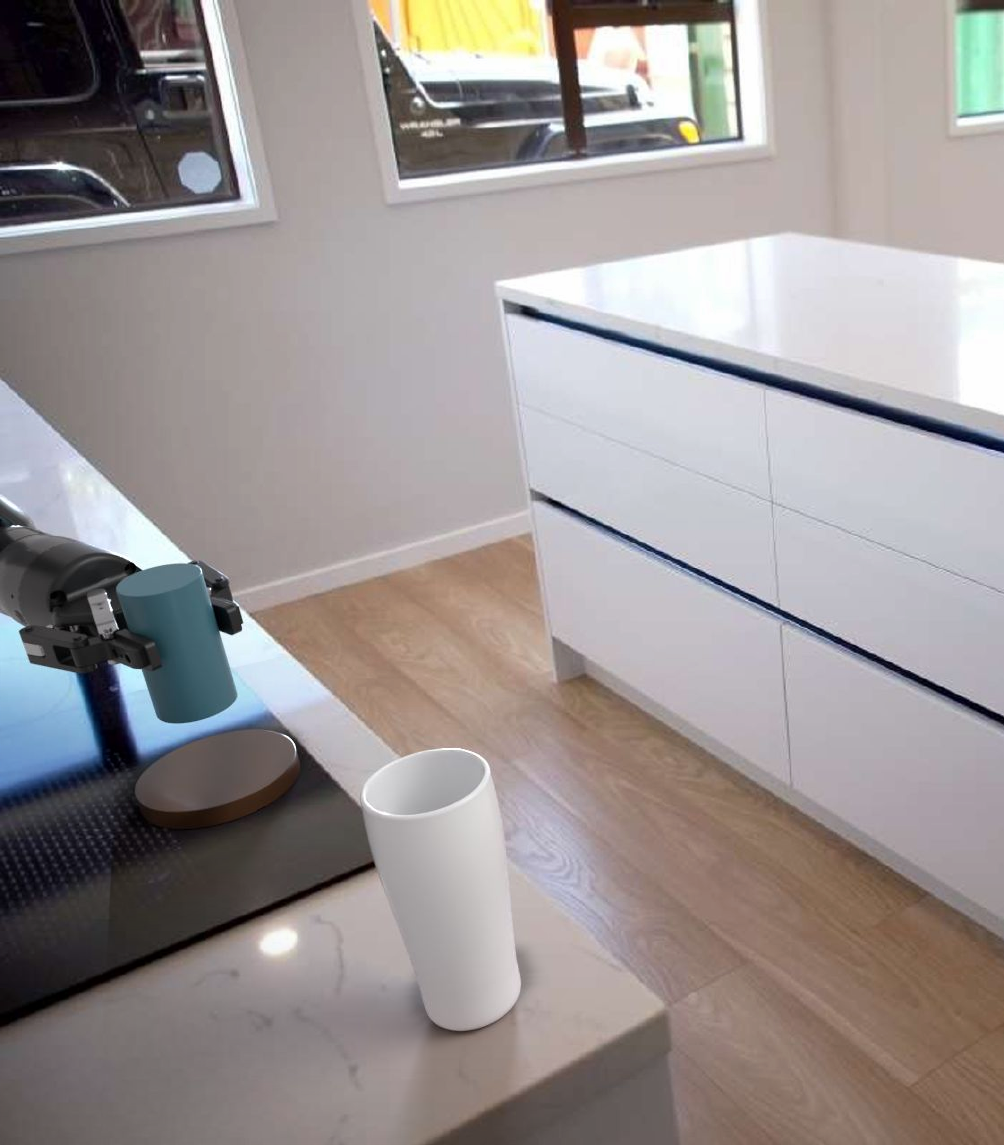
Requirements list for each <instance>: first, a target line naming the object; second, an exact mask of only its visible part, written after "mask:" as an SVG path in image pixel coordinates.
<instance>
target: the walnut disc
mask: <svg viewBox="0 0 1004 1145" xmlns="http://www.w3.org/2000/svg"><path fill="white" fill-rule="evenodd" d="M298 754H299V753H298V750H297V748H296V744H295V743H294V741H293V740H292V739H291V738H290V737H289V736H287V735H285V734H283V733H280V732H277V731H273V730H267V729H266V730H265V729H243V730H242V729H241V730H233V731H228V732H222V733H219V734H213V735H211V736H207V737H204V738H203V737H202V738H200V739H197V740H195V741H192V742H190V743H187V744H184V745H182V746H180V747H178V748H176V749H173V750H172V751H170V752H168V753H167V754H165V755H164V756H162V757H160V758H159V759H158V760H156V761H155V762H153V763H152V764H151V765H150V766H149V767H147V768H146V769H145V771H143V773H141V775H140V776H139V778H138V779H137V782H136V784H135V787H134V796H135V799H136V801H137V805H138V807H139V811H140V813H141V815H142V817H143V818H144V819H145V820H146V821H147V822H148V823H150V824H153V825H154V826H157V827H160V828H164V829H171V830H194V829H201V828H209V827H213V826H218V825H222V824H225V823H229V822H233V821H235V820H238V819H241V818H243V817H246V816H249V815H251V814H254V813H256V812H257V810H258V809H259V810H261V809H263V808H264V807H263V806H265V807H268V806H269V805H270V804H272V803H273V802H275V801H277V800H278V799H279V798H281V797H282V796H283V795H284V794H286V792H288V791H289V790H290V789H291V787H292V786H293V785H294V784H295V783H296V781H297V780H298V778H299V776H300V773H301V761H300V758H299V755H298ZM262 807H263V808H262ZM260 808H261V809H260ZM259 810H258V811H259Z"/></svg>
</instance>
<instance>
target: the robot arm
mask: <svg viewBox="0 0 1004 1145" xmlns="http://www.w3.org/2000/svg"><path fill="white" fill-rule="evenodd" d="M186 564H193V565H196V566H198V567H200V568H201V570H202V573H203V577H204V580H205V583H206V587H207V590H208V594H209V597H210V601H211V604H212V608H213V611H214V614H215V618H216V621H217V625H218V628H219V632H220V633H221V632H222V633H224V634H227V635H229V636H235V635H236V634H238V633H240V632H243V626H242V625H243V624H244V620H243V617H242V613H241V609H240V605H239V604H238V603H237V602H236V601H235V600H234V598H233V593H232V591H231V590H232V589H231V586H230V580H229V577H228V576H227V575H225V574H224V573H222V572H220V571H219V570H218V569H216V568H214V567H213V566H211V565H210V564H208V563H207V562H206V561H204V560H201V559H195V560H191V561H189V562H187V563H186ZM142 570H143V569H142V567H141V566H139V565H137V563H135V562H134V561H133V560H132V559H130V558H129V557H126V556H125V555H123V554H121V553H117V552H114V551H111V550H108V549H106V548H103V547H100V546H97V545H94V544H90V543H87V542H85V541H81V540H78V539H76V538H72V537H68V536H63V535H54V534H51V533H48V532H45V531H43V530H40V529H38V528H37V525H36V524H35V521H33V519H32V518H31V516H30V515H29V514H28V513H27V512H25V510H23V509H22V508H21V507H20V506H19V505H18V504H16V503H14V502H13V501H12V500H11V499H9V498H8V497H6V496H5V495H3V494H2V493H0V614H2V615H5V616H7V617H9V618H11V619H13V620H14V621H15V622H16V623H18V624H20V625H22V626H23V627H22V628H20V629H19V630H18V633H19V637H20V639H21V642H22V644H23V647H24V651H25V652H26V656H27V658H28V662H29V663H30V664H32V665H37V666H41V667H46V668H50V669H56V670H61V671H66V672H69V673H70V672H71V673H75V674H79V675H80V674H81V675H84V674H89V673H93V672H94V671H96V670H97V669H98V665H97V664H100V663H104V662H107V663H108V664H109V665H111V666H115V665H120V664H121V665H124V666H126V667H127V668H131V669H133V670H142V668H143V669H145V670H147V671H150V672H152V671H154V670H157V669H159V668H161V667H162V662H161V659H160V656H159V653H158V649H157V646H156V644H155V642H154V641H153V640H152V639H150V638H147V637H145V636H142V635H140V634H137V633H134V632H132V631H129V629H128V626H127V623H126V620H125V617H124V614H123V611H122V607H121V604H120V601H119V598H118V595H117V592H116V587H117V585H118V584H119V583H120V582H121V581H122V580H123V579H125V578H127V577H128V576H130V575H132V574H135V573H137V572H139V571H142Z"/></svg>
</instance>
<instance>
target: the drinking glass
mask: <svg viewBox="0 0 1004 1145" xmlns="http://www.w3.org/2000/svg"><path fill="white" fill-rule="evenodd" d="M497 794H498V793H497V790H496V787H495V783H494V779H493V776H492V771H491V768H490V765H489V763H488V761H487V760H486V759H485V758H483V756H481V755H479V754H478V753H475V752H473V751H470V750H467V749H461V748H452V747H451V748H435V749H434V748H433V749H427V750H422V751H418V752H414V753H411V754H408V755H405V756H401V757H399V758H397V759H395V760H393V761H391V762H388V763H387V764H386V765H384V766H382V767H381V768H379V769H377V771H375V772H374V773H373V774H372V775H371V776H369V778H368V779H367V780H366V781H365V782H364V784H363V785H362V788H361V790H360V794H359V801H360V806H361V812H362V817H363V823H364V828H365V832H366V836H367V837H366V838H367V841H368V845H369V849H370V853H371V857H372V859H373V864H374V866H375V869H376V873H377V875H378V879H379V881H380V884H381V887H382V889H383V892H384V894H385V897H386V899H387V902H388V905H389V907H390V910H391V913H392V916H393V919H394V921H395V923H396V926H397V929H398V931H399V934H400V937H401V940H402V943H403V945H404V948H405V952H406V953H407V956H408V959H409V961H410V965H411V967H412V970H413V973H414V975H415V978H416V981H417V984H418V987H419V990H420V995H421V998H422V1002H423V1006H424V1009H425V1012H426V1014H427V1017H428V1018H429V1019H430V1020H431V1021H432V1022H433V1023H434V1024H435V1025H436V1026H438V1027H440V1028H441V1029H442V1028H443V1029H445V1030H449V1031H454V1032H455V1031H456V1032H465V1031H466V1032H468V1031H474V1030H477V1029H481V1028H484V1027H486V1026H489V1025H491V1024H493V1023H495V1022H497V1021H498V1020H500V1019H501V1018H503V1017H504V1016H505V1015H506V1014H507V1013H509V1011H511V1009H512V1008H513V1007H514V1006H515V1004H516V1003H517V1001H518V998H519V997H520V994H521V989H522V988H521V987H522V979H521V974H520V969H519V963H518V959H517V951H516V950H517V949H516V941H515V932H514V920H513V912H512V911H513V910H512V901H511V891H510V881H509V869H508V858H507V849H506V847H507V846H506V839H505V831H504V824H503V819H502V814H501V808H500V804H499V799H498V795H497Z"/></svg>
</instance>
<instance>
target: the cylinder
mask: <svg viewBox="0 0 1004 1145" xmlns="http://www.w3.org/2000/svg"><path fill="white" fill-rule="evenodd" d="M116 592H117V595H118V598H119V601H120V604H121V607H122V611H123V614H124V617H125V620H126V623H127V626H128V629H129V631H132V632H134V633H137V634H140V635H142V636H145V637H147V638H150V639H152V640H153V641H154V642H155V644H156V646H157V649H158V653H159V656H160V659H161V662H162V667H161V668H159V669H157V670H154V671H152V672H150V671H147V670H145V669H143V668H142V669H141V673H142V675H143V678H144V682H145V685H146V688H147V691H148V694H149V696H150V700H151V704H152V706H153V709H154V713H155V715H156V717H157V719H159V721H161V722H163V723H167V724H175V725H177V724H178V725H179V724H189V723H194V722H199V721H202V720H207V719H209V718H211V717H214V716H216V715H219V714H221V713H222V712H224V711H226V710H228V709H229V708H230V707H231V706H232V705H233V704H234V703H235V702H236V700H237V699H238V689H237V687H236V684H235V681H234V676H233V673H232V671H231V667H230V666H231V665H230V662H229V659H228V656H227V652H226V648H225V645H224V642H223V639H222V635H221V631H219V628H218V625H217V621H216V618H215V614H214V611H213V608H212V604H211V601H210V597H209V594H208V590H207V587H206V583H205V580H204V577H203V573H202V570H201V568H200V567H198V566H196V565H193V564H187V563H186V562H185V563H184V562H183V563H182V562H181V563H180V562H178V563H167V564H162V565H161V564H160V565H156V566H153V567H149V568H146V569H142V571H139V572H137V573H135V574H132V575H130V576H128V577H127V578H125V579H123V580H122V581H121V582H120V583H119V584H118V585H117V587H116Z"/></svg>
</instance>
